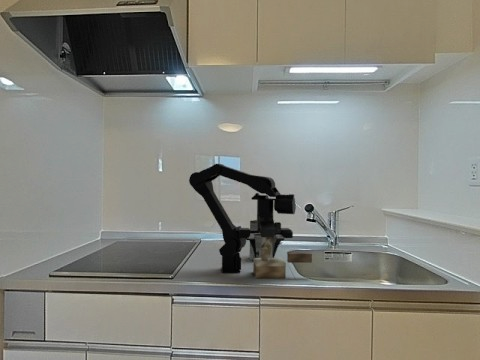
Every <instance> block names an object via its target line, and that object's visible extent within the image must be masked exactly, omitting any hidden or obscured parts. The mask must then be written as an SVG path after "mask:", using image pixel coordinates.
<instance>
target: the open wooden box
mask: <svg viewBox="0 0 480 360" xmlns="http://www.w3.org/2000/svg"><path fill="white" fill-rule="evenodd" d="M252 262H253V264H252V265H253V266H252V267H253V270H252V272H253V274H254V276H255V277H254V278H255V279H286V277H287V276H286V273H287V272H286V267H287V265H286V266H256V265H255V263H254V260H252Z"/></svg>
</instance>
